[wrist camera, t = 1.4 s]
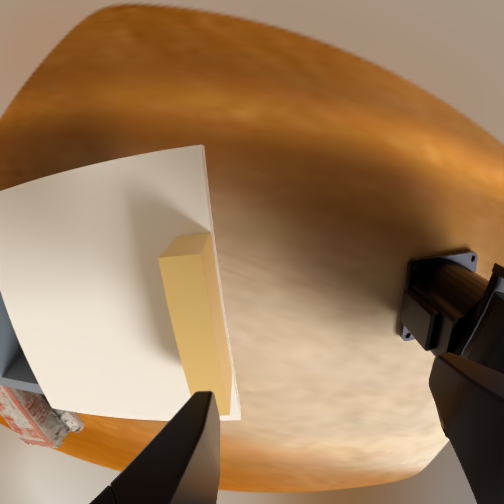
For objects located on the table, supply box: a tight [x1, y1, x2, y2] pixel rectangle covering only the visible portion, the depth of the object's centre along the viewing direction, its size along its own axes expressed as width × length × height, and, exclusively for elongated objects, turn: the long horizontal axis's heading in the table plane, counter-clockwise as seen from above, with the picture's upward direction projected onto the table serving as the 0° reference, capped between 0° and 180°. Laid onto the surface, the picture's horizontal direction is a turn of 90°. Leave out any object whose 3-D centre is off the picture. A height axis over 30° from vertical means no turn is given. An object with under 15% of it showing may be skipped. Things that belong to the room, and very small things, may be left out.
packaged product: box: [0, 385, 84, 448], centre depth 20 cm, size 18×5×10 cm
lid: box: [0, 145, 241, 421], centre depth 11 cm, size 11×12×3 cm
